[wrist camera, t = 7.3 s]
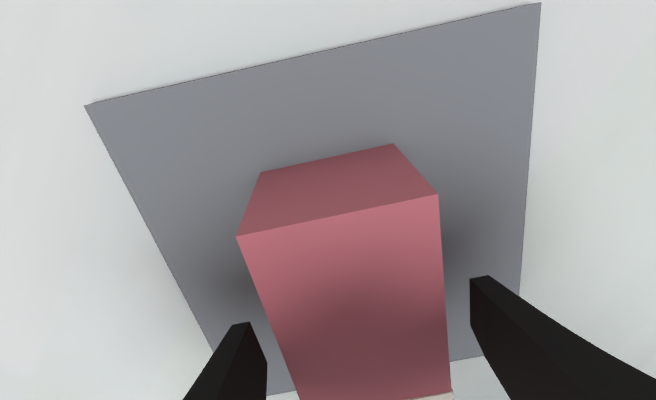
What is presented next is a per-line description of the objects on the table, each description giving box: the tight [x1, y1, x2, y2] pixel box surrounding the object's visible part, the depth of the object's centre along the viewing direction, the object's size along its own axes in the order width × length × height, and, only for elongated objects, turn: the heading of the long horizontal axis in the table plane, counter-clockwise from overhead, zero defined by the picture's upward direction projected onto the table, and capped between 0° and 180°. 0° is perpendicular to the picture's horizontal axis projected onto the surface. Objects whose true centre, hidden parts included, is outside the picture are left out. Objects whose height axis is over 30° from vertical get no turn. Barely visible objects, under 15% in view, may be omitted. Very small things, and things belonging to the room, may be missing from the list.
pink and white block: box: [236, 143, 454, 400], centre depth 12 cm, size 5×9×5 cm, turn 12°
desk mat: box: [84, 2, 541, 396], centre depth 14 cm, size 16×15×1 cm
